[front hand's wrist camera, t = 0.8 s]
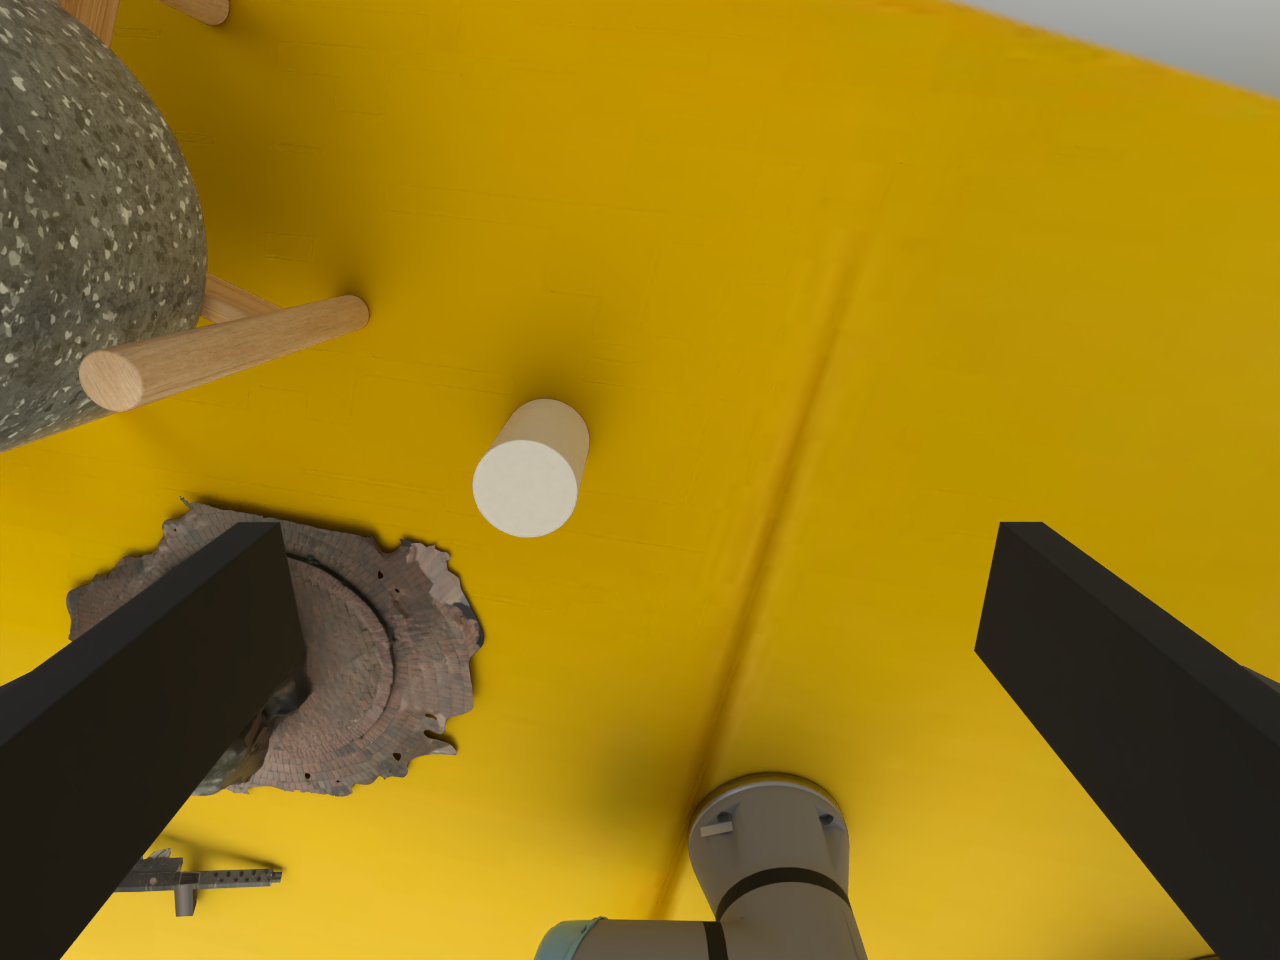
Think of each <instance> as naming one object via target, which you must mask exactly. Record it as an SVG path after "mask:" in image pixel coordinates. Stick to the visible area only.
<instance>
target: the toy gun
mask: <svg viewBox="0 0 1280 960" xmlns="http://www.w3.org/2000/svg"><path fill="white" fill-rule="evenodd" d="M170 854H171V848H168V849H164V850H160V851H155V852H153V853H152V854H151V855H150V856H149V857H148V858H147V859H144V860H143V856H142V857H141V858H140V859H139V861H138V862H137V863H136V864H135V866H134V867H133V868H132V870H131V871H130V872H129V873H128V875H127V876H126V877H125V878H124V880H123V881H122V882H121V883H120V885H119V886H118V887H117V888H116V890H115V891H114V892H143V891H165V890H174V893H175V909H176V917H179V916H193V913H194V910H195V906H196V889H212V888H236V887H260V886H271V883H274V882H280V881H281V876H282V872H274V869H251V870H221V871H190V872H180V870H181V867H182V863H183V858H169V857H170Z"/></svg>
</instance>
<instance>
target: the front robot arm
mask: <svg viewBox="0 0 1280 960" xmlns="http://www.w3.org/2000/svg"><path fill="white" fill-rule="evenodd" d="M305 651H306V649H305V644H304V639H303V634H302V629H301V624H300V619H299V614H298V609H297V604H296V599H295V594H294V589H293V584H292V579H291V574H290V569H289V564H288V559H287V554H286V550H285V545H284V540H283V535H282V530H281V525H280V522H237V523H236V524H234V525H233V526H232V527H230V528H229V529H228V530H226V531H225V532H223V533H222V534H221V535H219V536H218V537H216V538H215V539H214V540H212V541H211V542H210V543H208V544H207V545H205V546H204V547H203V548H201V549H200V550H199V551H197V552H196V553H194V554H193V555H192V556H190V557H189V558H187V559H186V560H185V561H183V562H182V563H181V564H179V565H178V566H176V567H175V568H174V569H172V570H171V571H169V572H168V573H167V574H165V575H164V576H163V577H161V578H160V579H158V580H157V581H156V582H154V583H153V584H151V585H150V586H149V587H147V588H146V589H145V590H143V591H142V592H140V593H139V594H138V595H136V596H135V597H134V598H132V599H131V600H129V601H128V602H127V603H125V604H124V605H122V606H121V607H120V608H118V609H117V610H116V611H114V612H113V613H111V614H110V615H109V616H107V617H106V618H104V619H103V620H102V621H100V622H99V623H98V624H96V625H95V626H93V627H92V628H91V629H89V630H88V631H86V632H85V633H84V634H82V635H81V636H80V637H78V638H77V639H75V640H74V641H73V642H71V643H70V644H69V645H67V646H66V647H64V648H63V649H62V650H60V651H59V652H57V653H56V654H55V655H53V656H52V657H51V658H49V659H48V660H46V661H45V662H44V663H42V664H41V665H39V666H38V667H37V668H35V669H34V670H33V671H31V672H29V673H27V674H25V675H23V676H21V677H19V678H17V679H15V680H13V681H11V682H9V683H7V684H5V685H3V686H1V687H0V960H60V959H61V957H62V956H63V955H64V954H65V952H66V951H67V950H68V949H69V947H70V946H71V945H72V944H73V942H74V941H75V940H76V939H77V937H78V936H79V935H80V934H81V932H82V931H83V930H84V929H85V927H86V926H87V925H88V923H89V922H90V921H91V920H92V918H93V917H94V916H95V915H96V913H97V912H98V911H99V910H100V908H101V907H102V906H103V905H104V903H105V902H106V901H107V900H108V898H109V897H110V896H111V895H112V893H113V892H114V891H115V890H116V888H117V887H118V886H119V885H120V883H121V882H122V881H123V880H124V878H125V877H126V876H127V875H128V873H129V872H130V871H131V870H132V868H133V867H134V866H135V864H136V863H137V862H138V861H139V859H140V858H141V857H142V856H143V854H144V853H145V852H146V851H147V849H148V848H149V847H150V846H151V844H152V843H153V842H154V841H155V839H156V838H157V837H158V836H159V834H160V833H161V832H162V831H163V829H164V828H165V827H166V826H167V824H168V823H169V822H170V821H171V819H172V818H173V817H174V816H175V814H176V813H177V812H178V811H179V809H180V808H181V807H182V805H183V804H184V803H185V802H186V800H187V799H188V798H189V797H190V795H191V794H192V793H193V792H194V790H195V789H196V788H197V787H198V785H199V784H200V783H201V782H202V780H203V779H204V778H205V777H206V775H207V774H208V773H209V772H210V770H211V769H212V768H213V767H214V765H215V764H216V763H217V762H218V760H219V759H220V758H221V757H222V755H223V754H224V753H225V752H226V750H227V749H228V748H229V747H230V745H231V744H232V743H233V741H234V740H235V739H236V738H237V736H238V735H239V734H240V733H241V731H242V730H243V729H244V728H245V726H246V725H247V724H248V723H249V721H250V720H251V719H252V718H253V716H254V715H255V714H256V713H257V711H258V710H259V709H260V708H261V706H262V705H263V704H264V703H265V701H266V700H267V699H268V698H269V696H270V695H271V694H272V693H273V691H274V690H275V689H276V688H277V686H278V685H279V684H280V682H281V681H282V680H283V679H284V677H285V676H286V675H287V674H288V672H289V671H290V670H291V669H292V667H293V666H294V665H295V664H296V662H297V661H298V660H299V659H300V657H301V656H302V655H303V654H304V652H305ZM974 651H975V652H976V654H977V655H978V656H979V657H980V659H981V660H982V661H983V662H984V664H985V665H986V666H987V667H988V669H989V670H990V671H991V672H992V674H993V675H994V676H995V677H996V679H997V680H998V681H999V682H1000V684H1001V685H1002V686H1003V688H1004V689H1005V690H1006V691H1007V693H1008V694H1009V695H1010V696H1011V698H1012V699H1013V700H1014V701H1015V703H1016V704H1017V705H1018V706H1019V708H1020V709H1021V710H1022V711H1023V713H1024V714H1025V715H1026V716H1027V718H1028V719H1029V720H1030V721H1031V723H1032V724H1033V725H1034V726H1035V728H1036V729H1037V730H1038V731H1039V733H1040V734H1041V735H1042V736H1043V738H1044V739H1045V740H1046V741H1047V743H1048V744H1049V745H1050V747H1051V748H1052V749H1053V750H1054V752H1055V753H1056V754H1057V755H1058V757H1059V758H1060V759H1061V760H1062V762H1063V763H1064V764H1065V765H1066V767H1067V768H1068V769H1069V770H1070V772H1071V773H1072V774H1073V775H1074V777H1075V778H1076V779H1077V780H1078V782H1079V783H1080V784H1081V785H1082V787H1083V788H1084V789H1085V790H1086V792H1087V793H1088V794H1089V795H1090V797H1091V798H1092V799H1093V800H1094V802H1095V803H1096V804H1097V805H1098V807H1099V808H1100V809H1101V811H1102V812H1103V813H1104V814H1105V816H1106V817H1107V818H1108V819H1109V821H1110V822H1111V823H1112V824H1113V826H1114V827H1115V828H1116V829H1117V831H1118V832H1119V833H1120V834H1121V836H1122V837H1123V838H1124V839H1125V841H1126V842H1127V843H1128V844H1129V846H1130V847H1131V848H1132V849H1133V851H1134V852H1135V853H1136V854H1137V856H1138V857H1139V858H1140V859H1141V861H1142V862H1143V863H1144V864H1145V866H1146V867H1147V868H1148V870H1149V871H1150V872H1151V873H1152V875H1153V876H1154V877H1155V878H1156V880H1157V881H1158V882H1159V883H1160V885H1161V886H1162V887H1163V888H1164V890H1165V891H1166V892H1167V893H1168V895H1169V896H1170V897H1171V898H1172V900H1173V901H1174V902H1175V903H1176V905H1177V906H1178V907H1179V908H1180V910H1181V911H1182V912H1183V913H1184V915H1185V916H1186V917H1187V918H1188V920H1189V921H1190V922H1191V923H1192V925H1193V926H1194V927H1195V929H1196V930H1197V931H1198V932H1199V934H1200V935H1201V936H1202V937H1203V939H1204V940H1205V941H1206V942H1207V944H1208V945H1209V946H1210V947H1211V949H1212V950H1213V951H1214V952H1215V954H1216V955H1217V956H1218V957H1219V959H1220V960H1280V684H1279V683H1277V682H1275V681H1273V680H1271V679H1269V678H1267V677H1265V676H1263V675H1261V674H1259V673H1257V672H1255V671H1253V670H1251V669H1249V668H1247V667H1244V666H1241V665H1239V664H1238V663H1236V662H1235V661H1234V660H1232V659H1231V658H1229V657H1228V656H1227V655H1225V654H1224V653H1223V652H1221V651H1220V650H1218V649H1217V648H1216V647H1214V646H1213V645H1211V644H1210V643H1209V642H1207V641H1206V640H1205V639H1203V638H1202V637H1200V636H1199V635H1198V634H1196V633H1195V632H1194V631H1192V630H1191V629H1189V628H1188V627H1187V626H1185V625H1184V624H1182V623H1181V622H1180V621H1178V620H1177V619H1176V618H1174V617H1173V616H1171V615H1170V614H1169V613H1167V612H1166V611H1164V610H1163V609H1162V608H1160V607H1159V606H1158V605H1156V604H1155V603H1153V602H1152V601H1151V600H1149V599H1148V598H1146V597H1145V596H1144V595H1142V594H1141V593H1140V592H1138V591H1137V590H1135V589H1134V588H1133V587H1131V586H1130V585H1129V584H1127V583H1126V582H1124V581H1123V580H1122V579H1120V578H1119V577H1117V576H1116V575H1115V574H1113V573H1112V572H1111V571H1109V570H1108V569H1106V568H1105V567H1104V566H1102V565H1101V564H1099V563H1098V562H1097V561H1095V560H1094V559H1093V558H1091V557H1090V556H1088V555H1087V554H1086V553H1084V552H1083V551H1082V550H1080V549H1079V548H1077V547H1076V546H1075V545H1073V544H1072V543H1070V542H1069V541H1068V540H1066V539H1065V538H1064V537H1062V536H1061V535H1059V534H1058V533H1057V532H1055V531H1054V530H1052V529H1051V528H1050V527H1048V526H1047V525H1046V524H1044V523H1043V522H1000V525H999V530H998V535H997V540H996V545H995V550H994V554H993V559H992V564H991V569H990V574H989V579H988V584H987V589H986V594H985V599H984V604H983V609H982V614H981V619H980V624H979V629H978V634H977V639H976V644H975V649H974ZM688 846H689V856H690V860H691V864H692V867H693V870H694V873H695V875H696V877H697V879H698V881H699V883H700V886H701V888H702V890H703V892H704V894H705V896H706V899H707V901H708V903H709V905H710V907H711V909H712V911H713V914H714V916H715V919H716V921H668V920H609V919H608V918H606V917H601V916H600V917H598V918H594V919H592V920H575V921H563V922H560V923H558V924H557V925H556V926H554V927H552V928H551V929H550V930H549V931H548V932H547V933H546V934H545V936H544V938H543V939H542V941H541V943H540V945H539V947H538V950H537V952H536V955H535V958H534V960H868V958H867V955H866V952H865V949H864V946H863V943H862V940H861V936H860V933H859V930H858V927H857V924H856V921H855V918H854V915H853V912H852V909H851V906H850V902H849V899H848V875H849V837H848V831H847V827H846V824H845V821H844V818H843V815H842V813H841V810H840V808H839V806H838V805H837V803H836V802H835V800H834V799H833V798H832V797H831V796H830V795H829V794H828V793H827V792H826V791H825V790H824V789H823V788H821V787H819V786H818V785H816V784H815V783H813V782H811V781H808V780H806V779H804V778H800V777H797V776H793V775H788V774H781V773H762V774H754V775H749V776H745V777H741V778H738V779H735V780H733V781H730V782H728V783H726V784H724V785H722V786H720V787H719V788H717V789H716V790H714V791H713V792H712V793H710V794H709V795H708V796H707V797H706V798H705V799H704V800H703V801H702V802H701V803H700V804H699V806H698V807H697V809H696V810H695V812H694V814H693V816H692V818H691V821H690V824H689V829H688Z"/></svg>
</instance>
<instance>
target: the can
mask: <svg viewBox="0 0 1280 960" xmlns="http://www.w3.org/2000/svg"><path fill="white" fill-rule="evenodd" d="M589 443H590V441H589V432H588V429H587V426H586V424H585V422H584V420H583V419H582V417H581V416H580V415H579V414H578V412H576V411H575V410H574V409H573V408H572V407H570V406H569V405H567V404H565V403H563V402H560V401H557V400H553V399H537V400H533V401H530V402H527V403H525V404H524V405H522V406H520V407H519V408H518V409H517V410H516V411H515V412H514V413H513V414H512V415H511V417H510V418H509V420H508V421H507V423H506V424H505V426H504V427H503V428H502V430H501V431H500V433H499V434H498V436H497V437H496V438H495V440H494V441H493V443H492V444H491V446H490V447H489V449H488V450H487V451H486V453H485V454H484V456H483V457H482V459H481V460H480V462H479V463H478V465H477V467H476V469H475V472H474V476H473V486H472V488H473V495H474V499H475V502H476V504H477V507H478V508H479V510H480V512H481V513H482V515H483V516H484V517H485V518H486V520H487V521H488V522H489V523H491V524H492V525H493V526H494V527H496V528H497V529H499V530H501V531H503V532H505V533H507V534H510V535H513V536H518V537H538V536H542V535H546V534H548V533H551V532H553V531H555V530H556V529H558V528H559V527H560V526H562V525H563V524H564V523H565V522H566V521H567V520H568V518H569V517H570V516H571V514H572V512H573V510H574V508H575V505H576V501H577V497H578V493H579V489H580V484H581V480H582V476H583V471H584V467H585V463H586V459H587V454H588V450H589Z"/></svg>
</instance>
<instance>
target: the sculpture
mask: <svg viewBox="0 0 1280 960" xmlns="http://www.w3.org/2000/svg"><path fill="white" fill-rule="evenodd" d="M180 497H181V496H180ZM180 500H182V501H183V502H184V504H185V505H186V506H187V507H189V508H192V509H191V510H190V511H189V512H187V513H186V514H185V515H184V516H183V517H181V518H179V519H170V520H166V521H164V523H163V525H162V528H163V531H164V535H163V538H162V539H161V540H160V542H159V544H158V547H157V548H156V550H155V551H154V552H152V554H150V555H141V556H139V557H138V558H136V557H132V556H125V557H123V559H121V560H120V561H119V562H118V563H117V565H116V567H115V568H113V569H112V571H111V572H110V573H109V575H108V578H107V575H106V574H104V575H102V577H100V578H98V579H97V577H98V574H96V575H95V577H93V578H94V579H93V580H92V582H91V584H88V585H84V586H80V587H78V588H76V589H73V590H71V591H69V592H68V594H67V598H66V604H67V609H68V612H69V614H70V617H71V629H70V635H69V638H68V639H69V640H71V641H72V642H73V641H74V640H75V639H77V638H78V637H80V636H81V635H82V634H84V633H85V632H86V631H88V630H89V629H91V628H92V627H93V626H95V625H96V624H98V623H99V622H100V621H102V620H103V619H104V618H106V617H107V616H109V615H110V614H111V613H113V612H114V611H116V610H117V609H118V608H120V607H121V606H122V605H124V604H125V603H127V602H128V601H129V600H131V599H132V598H134V597H135V596H136V595H138V594H139V593H140V592H142V591H143V590H145V589H146V588H147V587H149V586H150V585H151V584H153V583H154V582H156V581H157V580H158V579H160V578H161V577H163V576H164V575H165V574H167V573H168V572H169V571H171V570H172V569H174V568H175V567H176V566H178V565H179V564H181V563H182V562H183V561H185V560H186V559H187V558H189V557H190V556H192V555H193V554H194V553H196V552H197V551H199V550H200V549H201V548H203V547H204V546H205V545H207V544H208V543H210V542H211V541H212V540H214V539H215V538H216V537H218V536H219V535H221V534H222V533H223V532H225V531H226V530H228V529H229V528H230V527H232V526H233V525H234V524H236V523H237V522H280V525H281V530H282V535H283V540H284V545H285V550H286V554H287V559H288V564H289V569H290V574H291V579H292V584H293V589H294V594H295V599H296V604H297V609H298V614H299V619H300V624H301V629H302V634H303V639H304V644H305V649H306V651H305V652H304V654H303V655H302V656H301V657H300V659H299V660H298V661H297V662H296V664H295V665H294V666H293V667H292V669H291V670H290V671H289V672H288V674H287V675H286V676H285V677H284V679H283V680H282V681H281V682H280V684H279V685H278V686H277V688H276V689H275V690H274V691H273V693H272V694H271V695H270V696H269V698H268V699H267V700H266V701H265V703H264V704H263V705H262V706H261V708H260V709H259V710H258V711H257V713H256V714H255V715H254V716H253V718H252V719H251V720H250V721H249V723H248V724H247V725H246V726H245V728H244V729H243V730H242V731H241V733H240V734H239V735H238V736H237V738H236V739H235V740H234V741H233V743H232V744H231V745H230V747H229V748H228V749H227V750H226V752H225V753H224V754H223V755H222V757H221V758H220V759H219V760H218V762H217V763H216V764H215V765H214V767H213V768H212V769H211V770H210V772H209V773H208V774H207V775H206V777H205V778H204V779H203V780H202V782H201V783H200V784H199V785H198V787H197V788H196V789H195V790H194V792H193V793H192V794H191V795H194V796H196V795H198V796H206V795H212V794H215V793H217V792H219V791H220V790H222V789H225V788H226V789H227V790H230V791H232V792H233V793H244V794H250V793H249V792H248V791H247V788H248V787H259V786H272V787H276V788H279V789H282V790H284V791H293V792H294V790H300V792H306V791H307V792H311V793H318V794H324V795H325V794H329V795H333V796H334V795H335V796H347V795H349V794H351V793H352V789H351V787H352V786H353V785H354V784H363V785H368V784H371V783H373V782H374V781H375V780H376V778H377V777H378V776H382V777H383V778H384V780H385V779H386V778H387V777H390V776H394V777H405V776H406V775H407V772H408V770H407V765H408V763H409V762H410V761H411V760H412V759H414V758H416V757H419V756H423V755H429V754H445V755H456V754H457V752H456V750H455V749H454V748H453V747H452V746H451V745H450V744H449V743H446V742H443V741H440V740H437V739H430V738H428V737H426V736H425V734H424V730H431V731H433V732H435V733H437V734H443V732H444V730H445V722H446V720H447V719H448V718H450V717H454V716H458V715H461V714H464V713H467V712H469V711H470V710H472V708H473V693H472V684H471V678H470V671H469V661H470V658H471V657H472V656H473V655H474V654H475V653H476V652H477V651H478V650H479V649H480V648H481V647H482V645H483V643H484V636H483V632H482V629H481V627H480V625H479V622H478V620H477V618H476V616H475V614H474V612H473V611H472V609H471V607H470V605H469V603H468V601H467V599H466V597H465V596H464V594H463V592H462V590H461V587H460V581H459V578H458V577H457V576H455V575H454V574H452V573H451V572H449V571H448V570H447V561H446V560H451V558H450V556H449V554H448V553H446V552H441V551H438V550H436V549H435V545H433V546H428V547H425V546H424V545H423V544H421V543H412V542H411V541H410V540H403V539H400V540H401V545H400V547H399V548H398V549H397V550H395V551H394V552H391V553H384V552H382V551H381V550H380V548H379V547H378V545H377V543H376V541H375V539H374V536H373V535H371V537H370V538H369V537H368V536H367V537H362V536H360V535H355V534H349V533H341V532H338V531H334V530H333V531H330V530H326V529H321V528H320V529H319V528H315V527H313V526H308V525H305V524H302V525H301V524H297V523H294V522H291V521H286V520H278V519H276V518H270V517H268V518H263V516H262V515H260V516H259V515H256V514H251V515H250V514H249V513H248V514H247V513H245V512H244V513H243V512H236V511H233V510H221V509H218V508H214V507H211V506H210V505H205V504H204V503H203V504H200V503H199V502H196V503H191V504H190V503H188V502H187V501H185V500H184V498H181V499H180ZM188 522H189V523H188ZM174 529H176V531H174ZM379 570H380V571H381V573H382V574H383V578H381V579H379V578H378V571H379ZM395 589H398V590H399V591H400V592H399V593H397V592H396V591H395ZM425 714H431V715H433V716H435V717H436V718H437V720H435V719H433V718H428V717H426V716H425ZM393 753H400V754H401V758H400V760H399V761H397V760H396V759H395V758H394V757H393ZM305 773H309V774H310V778H309V779H306V777H305ZM337 780H339V781H340V782H339V783H337V782H336V781H337Z"/></svg>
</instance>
